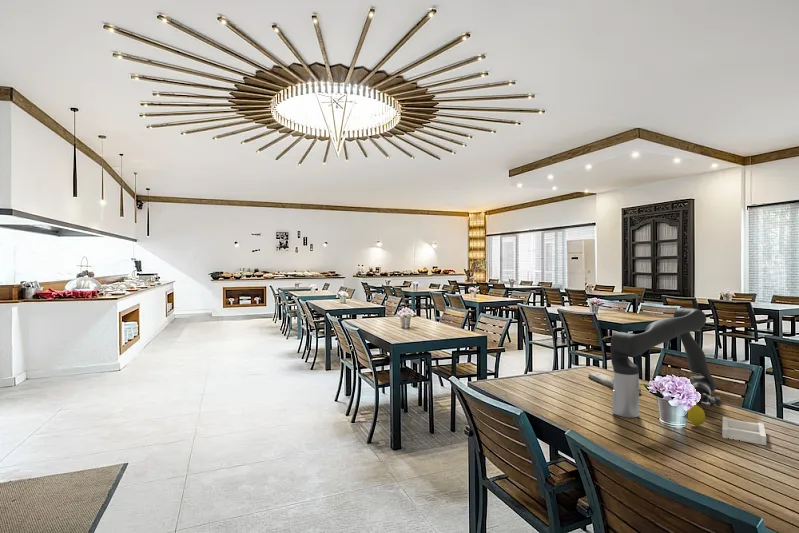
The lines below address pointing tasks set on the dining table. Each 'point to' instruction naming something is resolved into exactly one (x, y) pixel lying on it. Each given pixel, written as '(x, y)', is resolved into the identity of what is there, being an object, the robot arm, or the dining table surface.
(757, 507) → the dining table surface
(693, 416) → the lemon
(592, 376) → the elongated rock
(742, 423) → the tray
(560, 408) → the dining table surface
